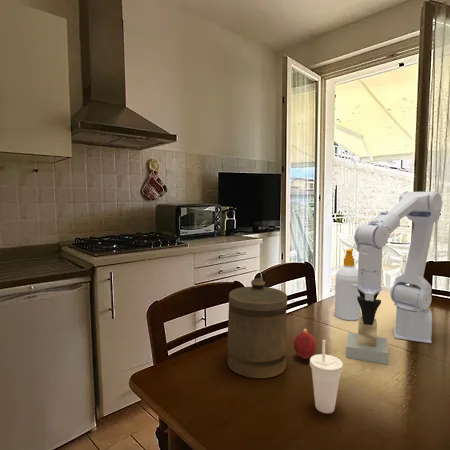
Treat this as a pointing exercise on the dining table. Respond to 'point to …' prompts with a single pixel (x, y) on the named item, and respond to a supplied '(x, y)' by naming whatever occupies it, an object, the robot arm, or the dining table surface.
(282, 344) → the wooden container
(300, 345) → the onion
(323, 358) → the smoothie
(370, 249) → the robot arm
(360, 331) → the block
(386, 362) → the base
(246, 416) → the dining table surface
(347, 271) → the soap bottle
